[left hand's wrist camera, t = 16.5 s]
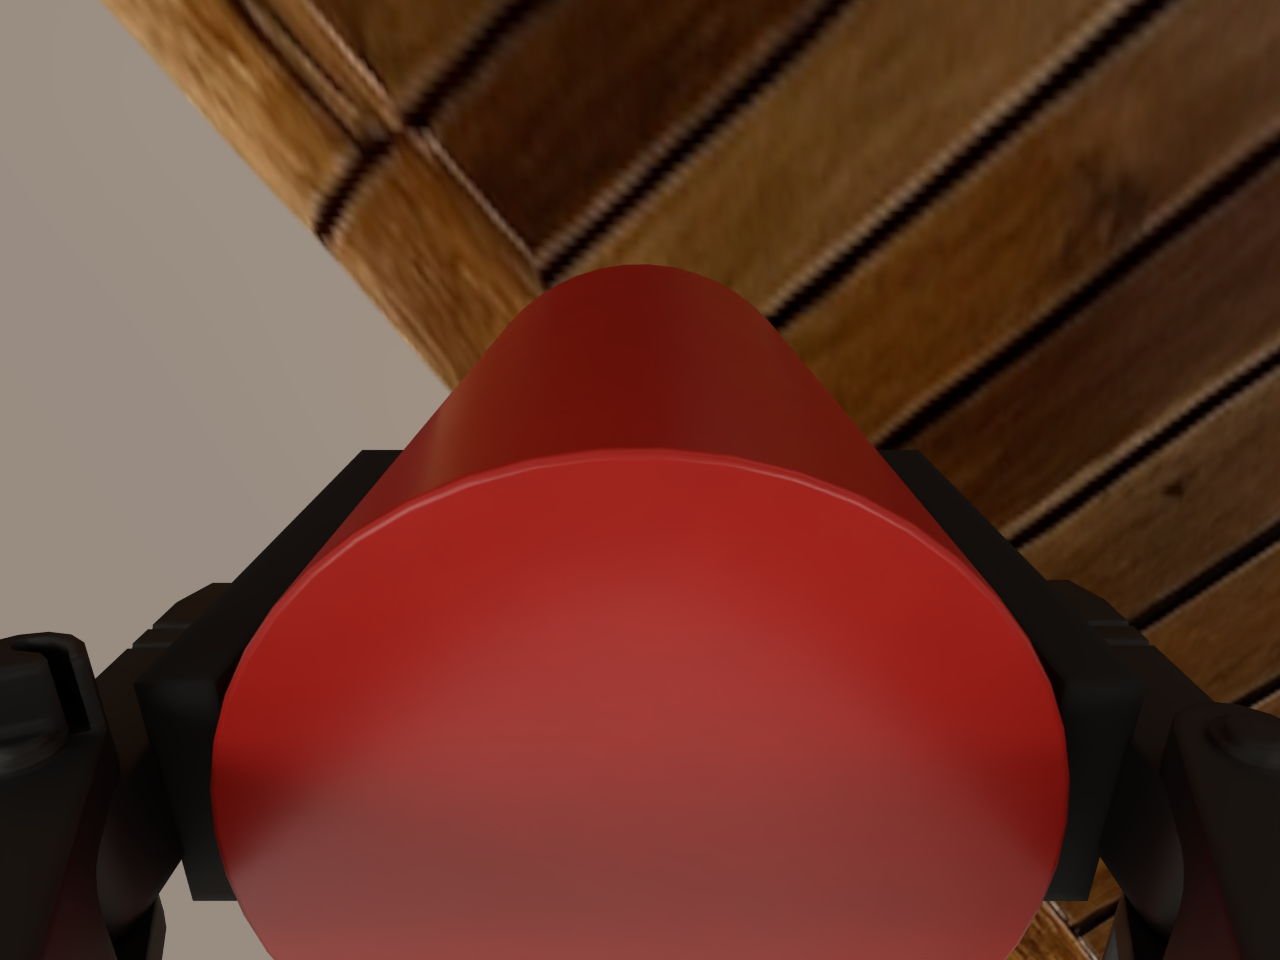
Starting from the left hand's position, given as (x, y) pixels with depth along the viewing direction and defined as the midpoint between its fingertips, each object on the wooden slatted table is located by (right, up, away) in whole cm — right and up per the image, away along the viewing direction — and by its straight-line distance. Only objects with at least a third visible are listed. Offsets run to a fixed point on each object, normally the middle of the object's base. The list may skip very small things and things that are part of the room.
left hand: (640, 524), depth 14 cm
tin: (0, +2, +5) cm, 5 cm away
